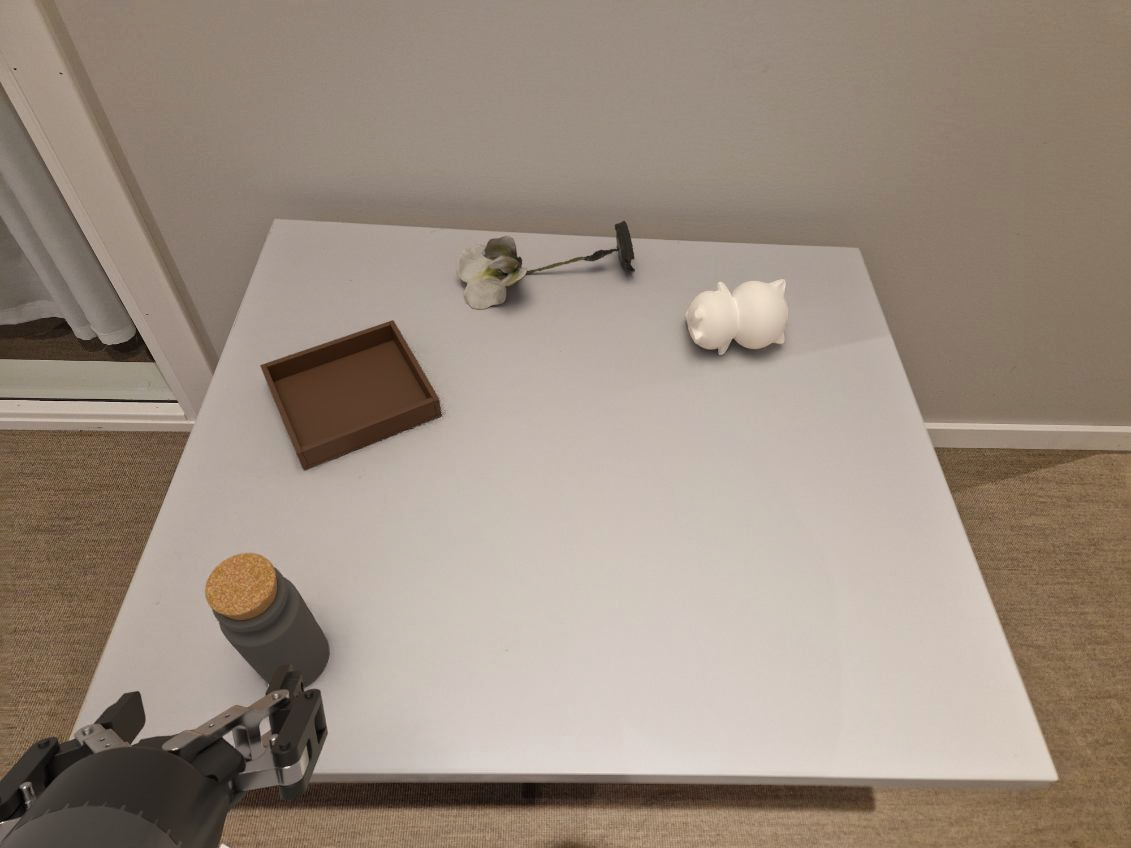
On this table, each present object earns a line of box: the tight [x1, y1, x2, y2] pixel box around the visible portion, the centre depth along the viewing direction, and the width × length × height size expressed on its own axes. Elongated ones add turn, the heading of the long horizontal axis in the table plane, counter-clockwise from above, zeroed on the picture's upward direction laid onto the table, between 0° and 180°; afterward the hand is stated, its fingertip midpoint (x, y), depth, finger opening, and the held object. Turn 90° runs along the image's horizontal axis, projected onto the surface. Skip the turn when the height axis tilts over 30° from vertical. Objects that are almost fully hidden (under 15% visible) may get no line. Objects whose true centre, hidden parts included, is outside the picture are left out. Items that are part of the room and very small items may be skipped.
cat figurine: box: [684, 278, 789, 356], centre depth 86 cm, size 9×11×12 cm
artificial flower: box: [455, 220, 636, 310], centre depth 90 cm, size 9×22×10 cm, turn 102°
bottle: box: [204, 552, 330, 688], centre depth 57 cm, size 6×6×15 cm
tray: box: [259, 319, 443, 471], centre depth 79 cm, size 15×13×3 cm
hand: (213, 692), depth 43 cm, fingers open, 8 cm apart
